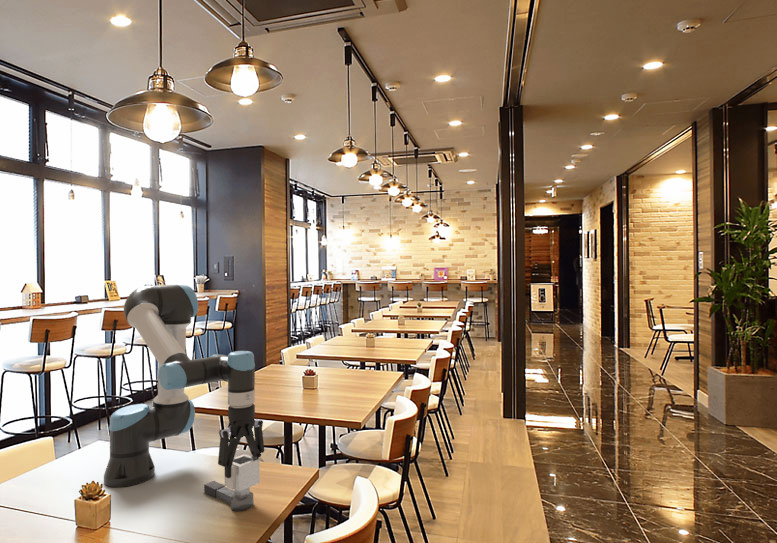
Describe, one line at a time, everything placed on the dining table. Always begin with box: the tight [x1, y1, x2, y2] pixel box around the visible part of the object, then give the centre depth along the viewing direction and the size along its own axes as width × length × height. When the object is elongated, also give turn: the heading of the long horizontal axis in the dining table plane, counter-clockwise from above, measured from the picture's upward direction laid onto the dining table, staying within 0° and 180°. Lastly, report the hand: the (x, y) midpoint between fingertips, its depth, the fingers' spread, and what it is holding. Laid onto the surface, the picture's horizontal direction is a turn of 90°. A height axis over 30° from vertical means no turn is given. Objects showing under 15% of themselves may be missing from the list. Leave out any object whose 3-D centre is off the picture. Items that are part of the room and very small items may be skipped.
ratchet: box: [203, 480, 254, 512], centre depth 146 cm, size 20×6×8 cm, turn 53°
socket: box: [224, 453, 261, 492], centre depth 141 cm, size 7×7×7 cm
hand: (242, 483), depth 141 cm, fingers closed on socket, 7 cm apart
